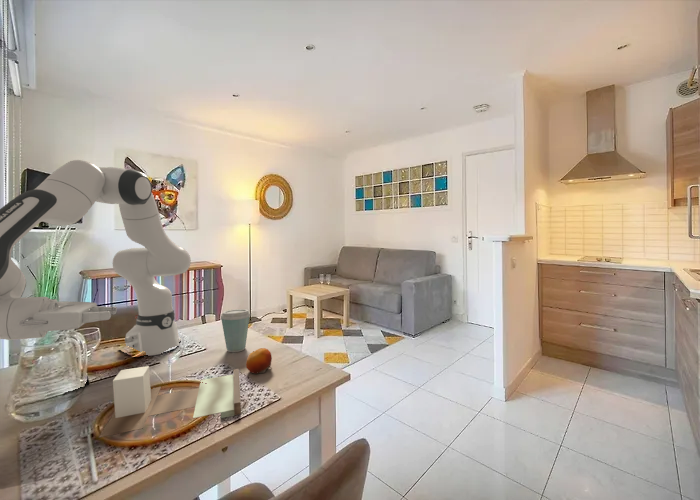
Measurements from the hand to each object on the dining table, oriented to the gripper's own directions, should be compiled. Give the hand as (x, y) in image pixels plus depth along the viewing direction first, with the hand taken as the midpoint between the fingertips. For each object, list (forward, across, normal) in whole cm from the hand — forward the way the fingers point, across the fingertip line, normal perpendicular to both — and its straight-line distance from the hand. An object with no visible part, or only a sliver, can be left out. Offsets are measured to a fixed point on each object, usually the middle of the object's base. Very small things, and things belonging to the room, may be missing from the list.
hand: (113, 312), depth 76 cm
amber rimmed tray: (+15, -1, +25) cm, 29 cm away
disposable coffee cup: (+34, +32, +20) cm, 51 cm away
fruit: (+37, +9, +22) cm, 44 cm away
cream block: (+5, +1, +24) cm, 24 cm away
